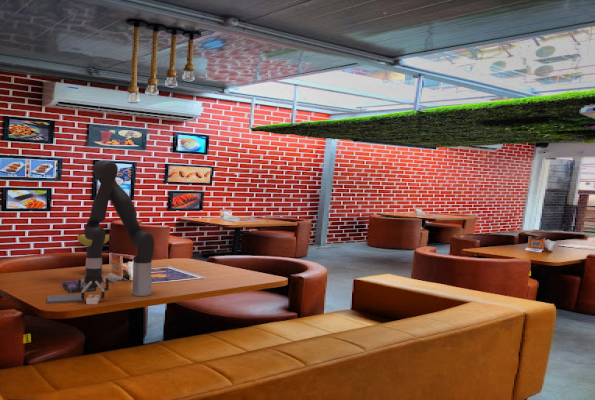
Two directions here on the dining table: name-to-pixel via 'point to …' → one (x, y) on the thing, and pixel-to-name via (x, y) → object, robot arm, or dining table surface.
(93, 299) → the white rectangular block
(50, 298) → the rubber mat
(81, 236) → the cocktail glass
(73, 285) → the box
